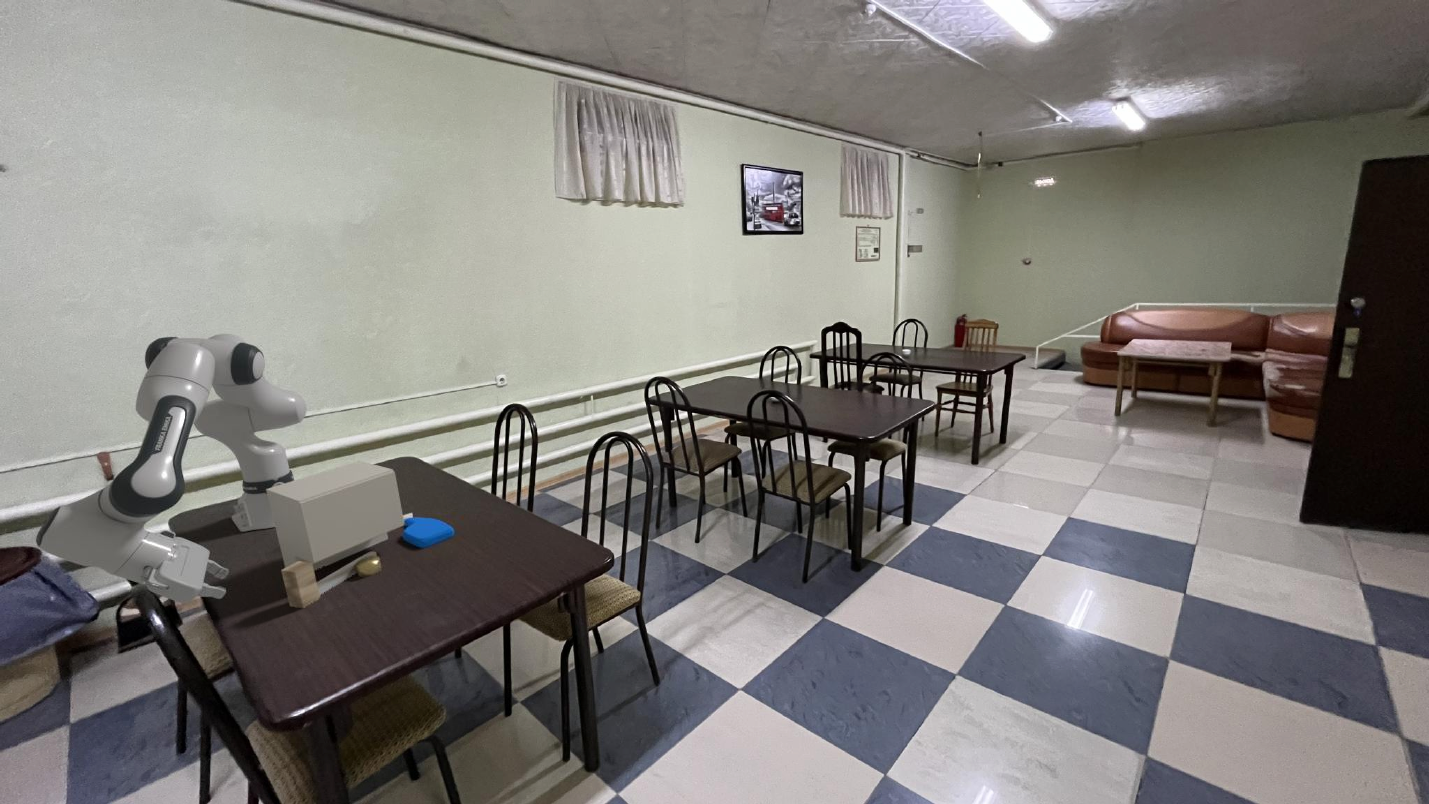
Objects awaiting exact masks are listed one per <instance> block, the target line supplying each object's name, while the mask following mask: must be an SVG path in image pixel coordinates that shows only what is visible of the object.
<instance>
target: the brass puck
mask: <svg viewBox="0 0 1429 804" xmlns="http://www.w3.org/2000/svg"><path fill="white" fill-rule="evenodd" d="M356 566H357V571H358V573H357V574H358V576H359V577H361V578H367V577H368V578H369V577H372V576H374V575H376V573H377V574H379V573H380V572H381V571H382V569H381V568H382V563H381V559H380V556H378V555H377V556H369V557H365V558H363V559H361V560H359V561H358V562H357V563H356ZM379 571H380V572H379Z"/></svg>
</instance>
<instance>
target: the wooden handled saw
mask: <svg viewBox="0 0 1429 804" xmlns="http://www.w3.org/2000/svg"><path fill="white" fill-rule="evenodd" d="M369 556H378V555H377V551H371V550H370V551H369V552H366V553H364V554H363V555H362V556H359V557H357V558H356V559H354V560H352V561H350V563H347V564H346V565H344V566H342V567H341V568H339V569H337V570H336V571H334V572H332V573H331V574H329V575H327V576H326V577H324V578H322V579H320V580H319V581H317V579H316V575H315V571H314V569H313V565H312V563H309V562H302V561H298V562H296V563H294V564H292V565H290V566H288V567H286V568H285V567H284V568H283V569H281V570H280V571H281V575H282V580H283V583H284V588H285V591H286V595H287V599H288V603H289V606H290V607H293V606H294V607H293V608H298V609H299V608H300V609H305V608H307V607H309V606H310V605H312V604H314V603H315V602H317V601H319V600H320V599H321V596H322V595H324V594H325V593H326V591H327V592H329V591H330V590H332V589H333V588H334V587H336V586H338V585H339V584H341V583H342V582H344V580H345V581H346V580H348V579H349V578H351V577H353V576H354V575H357V574H358V571H357V566H356V563H357V562H358V561H359V560H361V559H363V558H365V557H369ZM352 575H353V576H352ZM347 578H348V579H347ZM332 587H333V588H332ZM331 588H332V589H331ZM329 589H330V590H329ZM324 592H325V593H324ZM321 594H322V595H321ZM319 598H320V599H319ZM314 601H315V602H314ZM311 603H312V604H311ZM308 605H309V606H308ZM306 606H307V607H306Z"/></svg>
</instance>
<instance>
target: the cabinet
mask: <svg viewBox="0 0 1429 804" xmlns="http://www.w3.org/2000/svg"><path fill="white" fill-rule="evenodd" d="M398 487H399V486H398V481H397V477H396V471H394V469H392V468H388V467H384V466H380V465H377V464H373V463H370V462H369V463H368V462H365V461H361V460H357V461H353V462H350V463H348V464H344V465H341V466H338V467H334V468H331V469H328V470H326V471H322V472H319V473H315V474H311V475H308V476H305V477H302V478H299V479H296V480H295V479H294V481H291V482H288V483H285V484H282V485H278V486H275V487H272V488H269V489H266V491H267V495H268V499H269V503H270V507H271V512H272V516H273V520H274V524H275V527H274V528H275V532H276V536H277V539H278V545H279V547H280V552H281V555H282V560H283V564H284V568H286V567H288V566H290V565H292V564H294V563H296V562H298V561H302V562H309V563H312V565H313V569H314V572H315V570H316V571H318V570H319V569H318V568H320V569H322V567H323V566H325V567H326V566H329V565H331V564H334V563H336V562H338V561H340V560H343V559H345V558H348V557H351V556H352V555H355V554H356V553H359V552H361V551H364V550H366V549H368V548H370V547H373V546H375V545H377V544H380V543H382V542H384V541H387V540H389V536H388V533H389V532H392V531H393V530H397V529H398V528H401V527H404V526H405V525H404V519H403V515H404V514H403V509H402V505H401V499H400V493H399V488H398ZM323 568H324V567H323ZM317 569H318V570H317Z"/></svg>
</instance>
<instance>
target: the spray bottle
mask: <svg viewBox="0 0 1429 804" xmlns="http://www.w3.org/2000/svg"><path fill="white" fill-rule="evenodd" d="M403 519H404V525H403V526H405V527H406V528H405V530H404V531H403V532H402V539H403V540H404V541H405V542H407V543H409V544H410V545H412V546H414V547H418V548H421V549H424V548H429V547H431V546H434V545H436V544H439V543H441V542H445V541H446V540H448V538H449V539H451V538H453V536H454V535H455V529H454V528H453V527H452V526H451V525H449V524H448V523H446V522H444V521H442V520H440V519H436V518H432V517H429V518H428V517H427V518H426V517H416V516H413V512H410V513H406V514H403Z"/></svg>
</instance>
